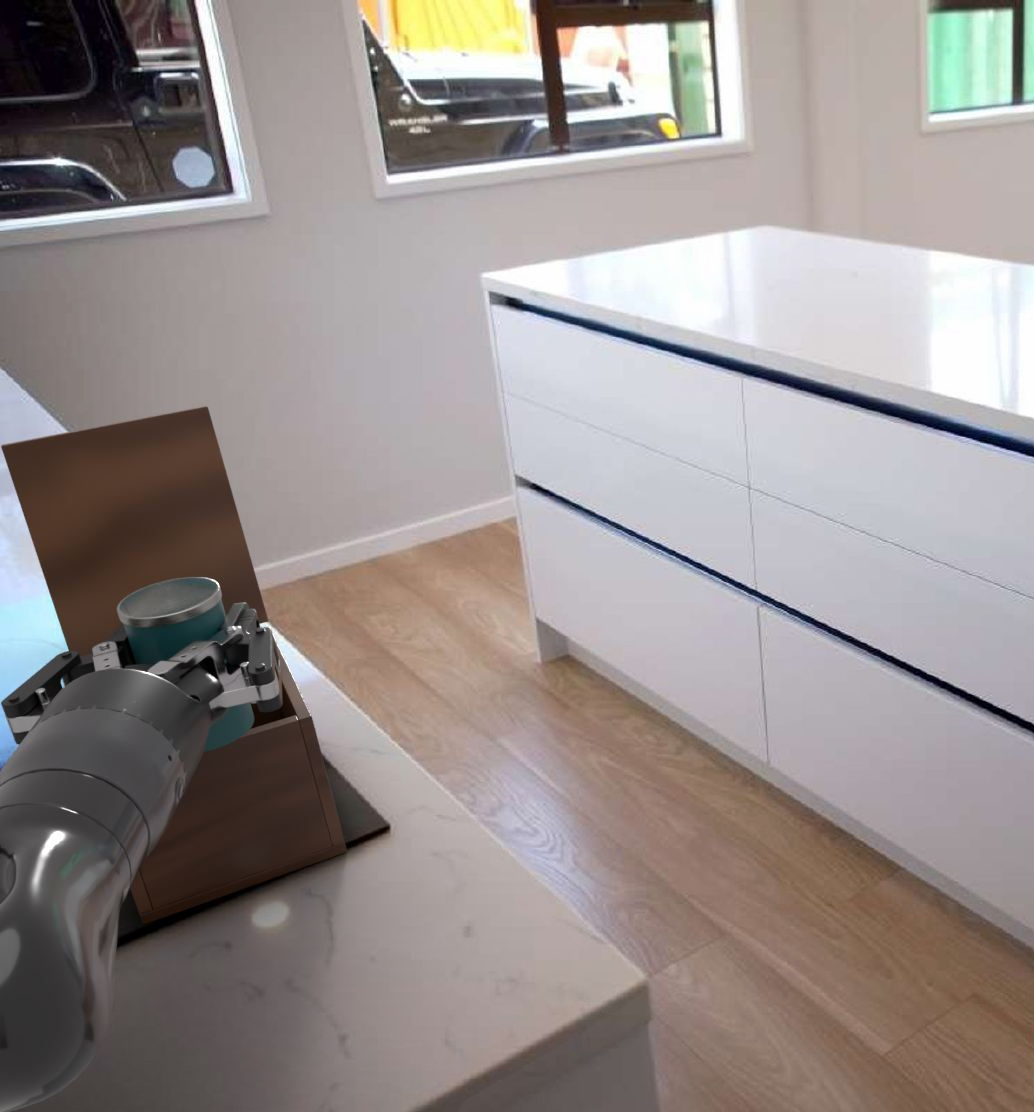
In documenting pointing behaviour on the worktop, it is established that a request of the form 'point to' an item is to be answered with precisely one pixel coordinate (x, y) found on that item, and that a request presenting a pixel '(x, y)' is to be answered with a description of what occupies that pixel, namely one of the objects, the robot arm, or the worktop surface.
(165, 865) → the bin
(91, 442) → the lid
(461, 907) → the worktop surface
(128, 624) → the tin
